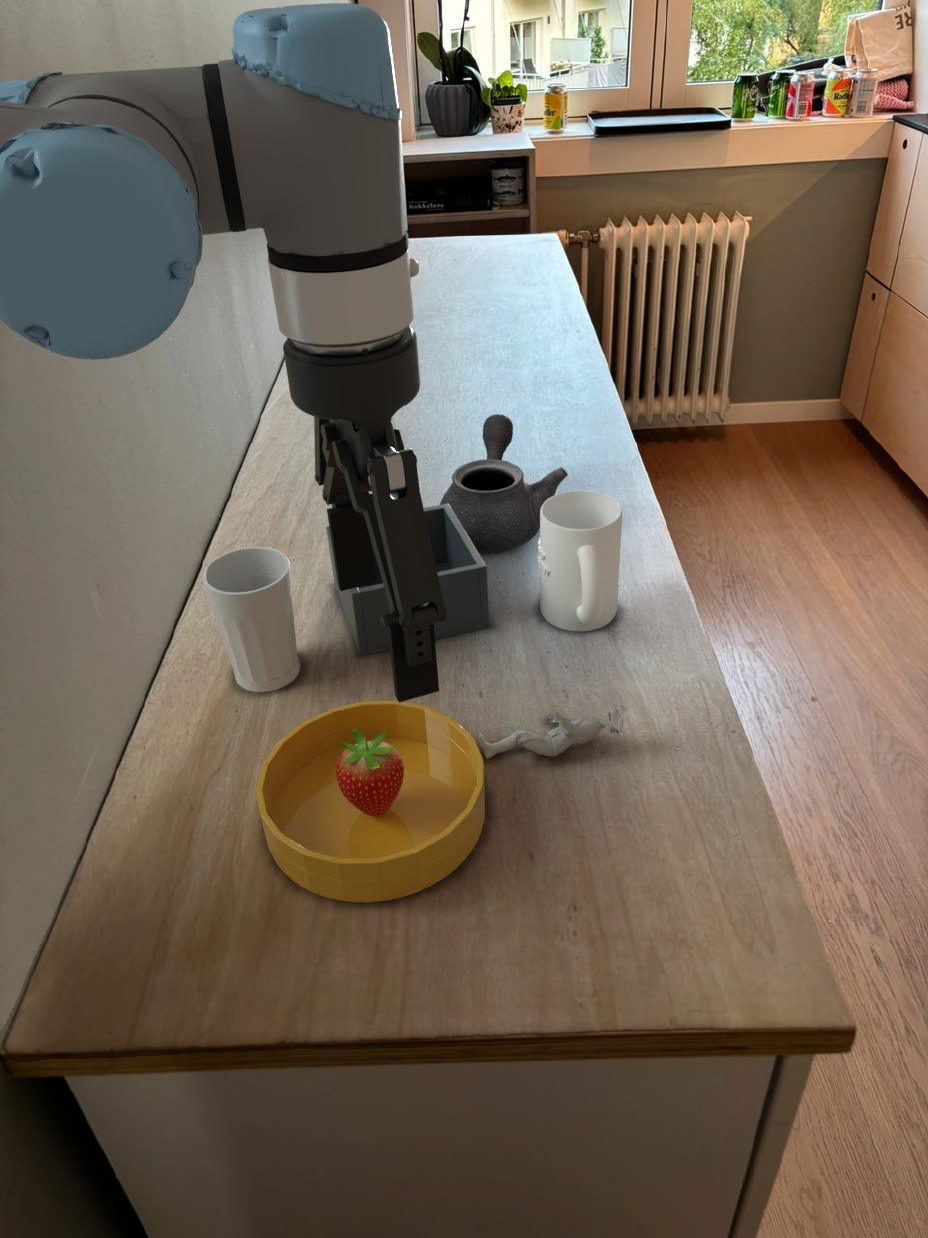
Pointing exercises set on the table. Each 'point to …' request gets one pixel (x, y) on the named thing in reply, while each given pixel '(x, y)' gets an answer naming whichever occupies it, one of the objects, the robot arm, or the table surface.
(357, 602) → the bin
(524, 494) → the teapot
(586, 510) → the mug
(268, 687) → the cup
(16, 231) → the robot arm
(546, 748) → the soldier figure
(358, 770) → the fruit
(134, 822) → the table surface
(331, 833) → the bowl
